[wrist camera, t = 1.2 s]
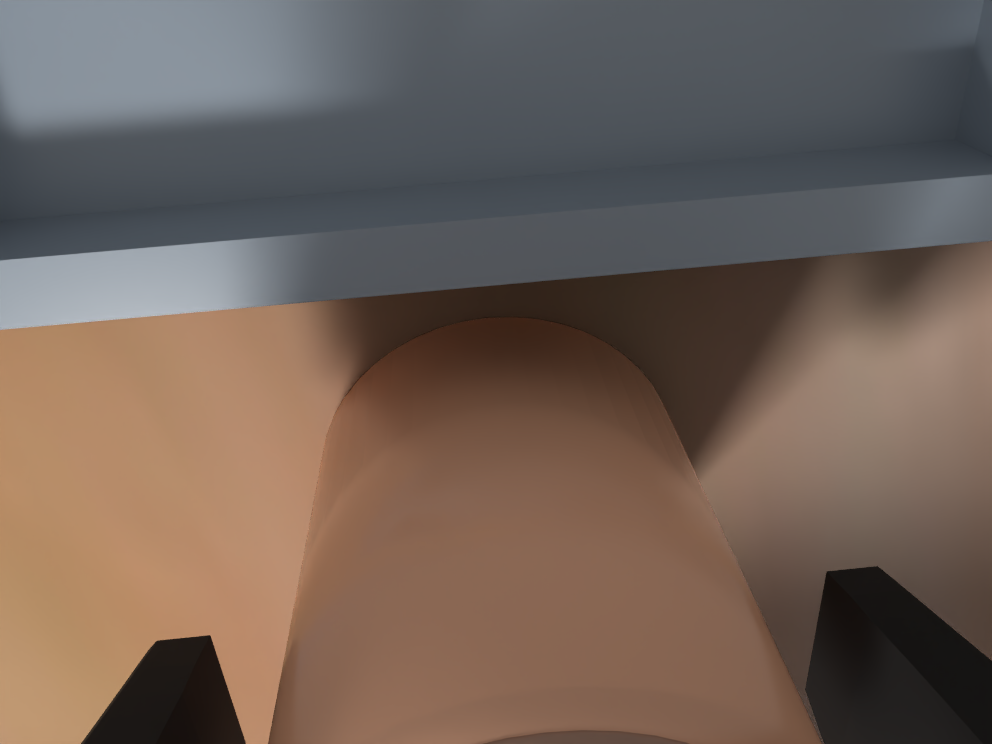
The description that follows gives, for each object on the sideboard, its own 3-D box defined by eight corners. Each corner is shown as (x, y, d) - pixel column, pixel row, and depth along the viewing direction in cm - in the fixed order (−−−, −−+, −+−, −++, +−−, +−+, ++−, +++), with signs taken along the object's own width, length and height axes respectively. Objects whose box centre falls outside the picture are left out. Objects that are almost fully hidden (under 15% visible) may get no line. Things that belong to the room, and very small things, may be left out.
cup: (668, 588, 15) (817, 1017, 9) (350, 620, 15) (302, 1077, 9) (681, 300, 12) (908, 656, 6) (291, 335, 12) (167, 734, 6)
